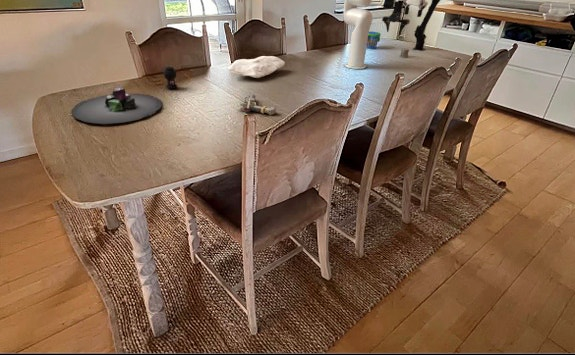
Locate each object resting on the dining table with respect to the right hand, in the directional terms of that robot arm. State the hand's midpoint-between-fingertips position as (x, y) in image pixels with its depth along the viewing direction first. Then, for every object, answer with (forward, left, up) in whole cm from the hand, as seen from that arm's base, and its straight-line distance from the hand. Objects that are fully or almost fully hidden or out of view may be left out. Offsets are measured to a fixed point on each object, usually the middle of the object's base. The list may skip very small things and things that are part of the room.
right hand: (393, 33), depth 266 cm
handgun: (+159, +5, -9) cm, 159 cm away
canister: (+25, +20, -9) cm, 33 cm away
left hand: (+26, +20, +17) cm, 37 cm away
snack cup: (+19, -8, -9) cm, 22 cm away
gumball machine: (+168, -42, -9) cm, 173 cm away
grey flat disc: (+199, -37, -9) cm, 203 cm away
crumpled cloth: (+123, -27, -9) cm, 127 cm away
